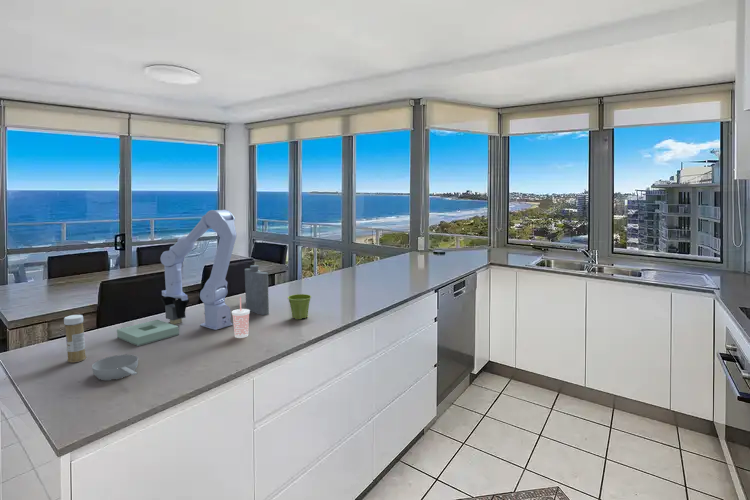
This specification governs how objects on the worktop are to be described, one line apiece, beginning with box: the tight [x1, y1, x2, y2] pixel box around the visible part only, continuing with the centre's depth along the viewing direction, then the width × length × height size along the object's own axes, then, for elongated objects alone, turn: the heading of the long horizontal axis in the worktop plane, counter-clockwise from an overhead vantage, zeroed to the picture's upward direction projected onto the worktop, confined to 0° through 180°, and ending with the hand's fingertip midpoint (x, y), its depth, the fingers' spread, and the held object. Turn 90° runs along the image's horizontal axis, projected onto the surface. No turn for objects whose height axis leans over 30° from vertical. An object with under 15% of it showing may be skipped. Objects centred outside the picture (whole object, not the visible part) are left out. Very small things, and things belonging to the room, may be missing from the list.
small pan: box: [91, 354, 139, 381], centre depth 110 cm, size 11×18×4 cm, turn 52°
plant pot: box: [287, 293, 312, 320], centre depth 166 cm, size 9×9×9 cm
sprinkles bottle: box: [63, 314, 87, 363], centre depth 120 cm, size 5×5×14 cm
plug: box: [164, 304, 186, 325], centre depth 157 cm, size 5×5×7 cm
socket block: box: [116, 319, 180, 347], centre depth 142 cm, size 14×14×3 cm
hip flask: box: [244, 264, 270, 316], centre depth 174 cm, size 16×4×20 cm, turn 46°
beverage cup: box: [231, 296, 251, 339], centre depth 143 cm, size 6×6×14 cm
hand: (175, 316), depth 157 cm, fingers open, 7 cm apart
